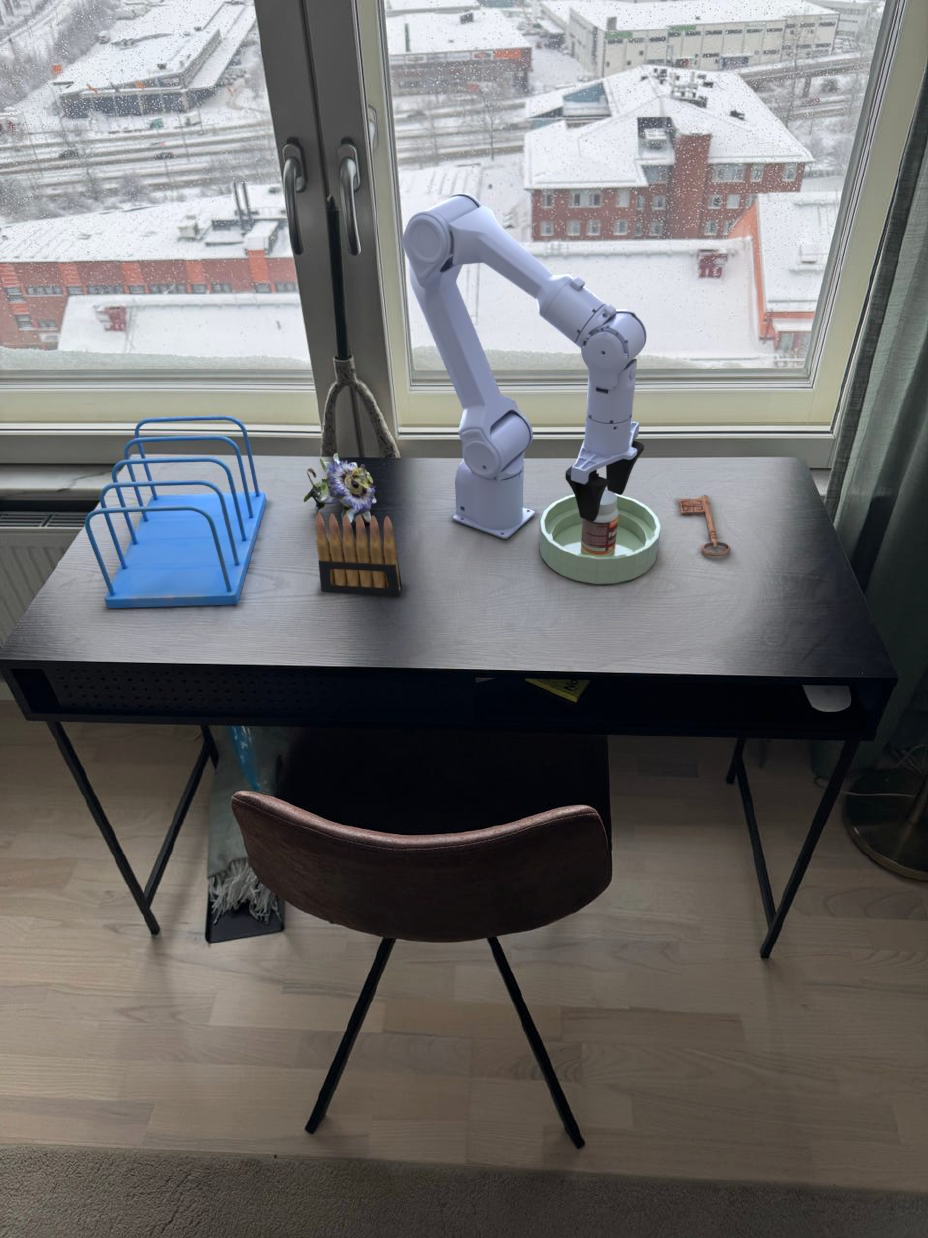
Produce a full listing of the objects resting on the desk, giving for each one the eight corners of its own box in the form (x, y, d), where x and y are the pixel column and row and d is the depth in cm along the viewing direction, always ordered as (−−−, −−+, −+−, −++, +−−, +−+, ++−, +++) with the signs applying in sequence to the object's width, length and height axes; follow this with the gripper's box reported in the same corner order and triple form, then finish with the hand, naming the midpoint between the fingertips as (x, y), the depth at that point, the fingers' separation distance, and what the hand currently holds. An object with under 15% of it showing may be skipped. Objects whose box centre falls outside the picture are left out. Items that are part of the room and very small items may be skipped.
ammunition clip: (321, 592, 124) (309, 516, 117) (324, 583, 126) (312, 508, 118) (399, 596, 123) (393, 520, 116) (402, 587, 125) (395, 512, 117)
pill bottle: (613, 559, 128) (618, 508, 122) (579, 556, 128) (582, 505, 123) (616, 540, 131) (621, 489, 126) (582, 536, 132) (586, 486, 127)
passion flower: (368, 550, 141) (366, 523, 129) (297, 537, 140) (289, 508, 129) (382, 482, 144) (382, 449, 132) (313, 469, 143) (306, 435, 132)
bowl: (517, 560, 129) (517, 533, 126) (576, 506, 139) (577, 480, 136) (622, 600, 121) (625, 573, 118) (676, 540, 131) (680, 513, 128)
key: (678, 500, 140) (688, 559, 128) (678, 495, 139) (688, 553, 127) (718, 498, 139) (731, 557, 127) (718, 493, 138) (732, 552, 127)
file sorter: (154, 505, 142) (128, 414, 132) (267, 502, 142) (250, 411, 132) (107, 609, 123) (72, 511, 113) (238, 606, 123) (215, 508, 113)
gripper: (609, 445, 110) (602, 540, 119) (664, 398, 119) (653, 489, 128) (558, 430, 113) (554, 523, 122) (614, 385, 122) (607, 474, 131)
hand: (601, 505), depth 125 cm, fingers open, 7 cm apart
